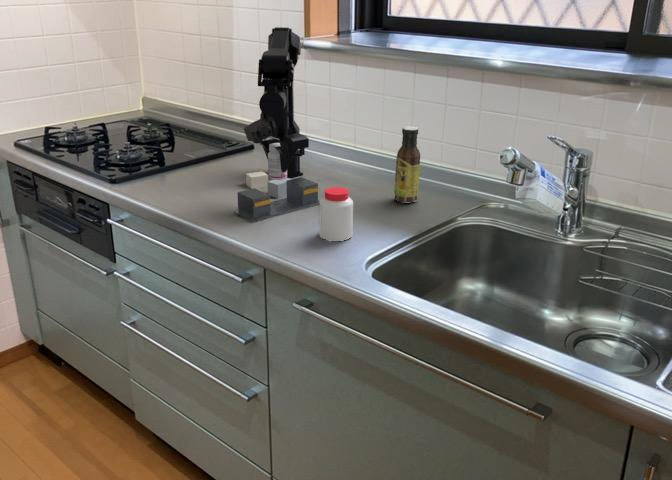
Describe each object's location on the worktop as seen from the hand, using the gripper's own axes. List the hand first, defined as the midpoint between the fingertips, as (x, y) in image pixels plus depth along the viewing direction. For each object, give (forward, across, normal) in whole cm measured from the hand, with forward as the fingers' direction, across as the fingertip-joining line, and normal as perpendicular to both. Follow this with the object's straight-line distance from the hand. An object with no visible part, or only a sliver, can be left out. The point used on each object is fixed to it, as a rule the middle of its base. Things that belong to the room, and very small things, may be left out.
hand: (278, 169), depth 169 cm
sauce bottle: (+11, +16, +30) cm, 36 cm away
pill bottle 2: (+10, +23, 0) cm, 25 cm away
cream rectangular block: (+11, -19, +6) cm, 22 cm away
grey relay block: (+11, -9, +7) cm, 15 cm away
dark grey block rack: (+10, 0, 0) cm, 10 cm away
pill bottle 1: (+2, 0, 0) cm, 2 cm away
